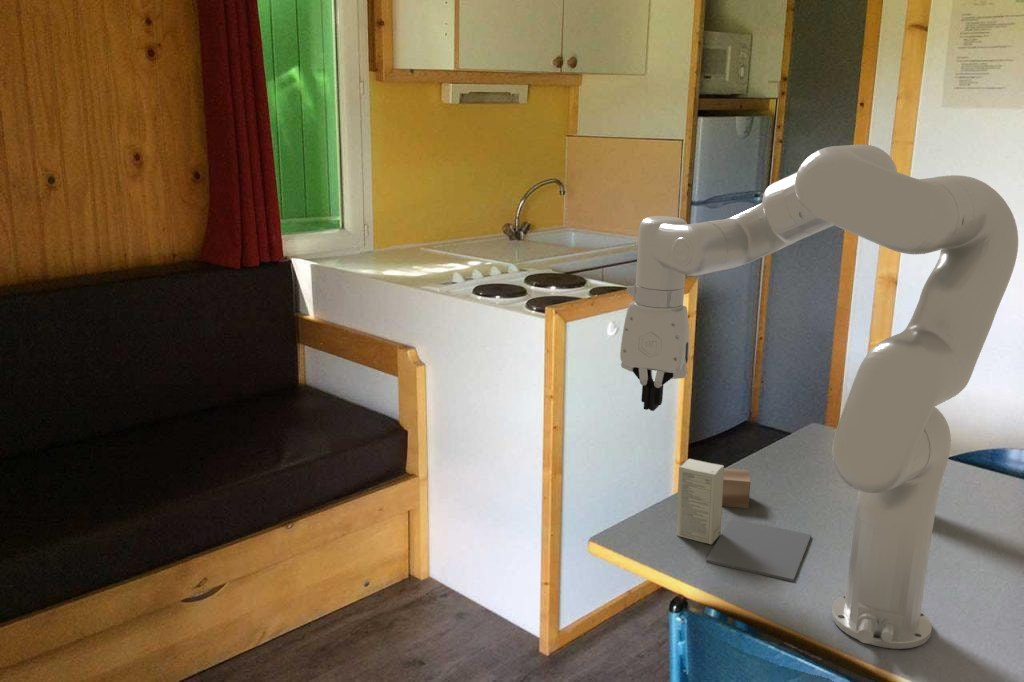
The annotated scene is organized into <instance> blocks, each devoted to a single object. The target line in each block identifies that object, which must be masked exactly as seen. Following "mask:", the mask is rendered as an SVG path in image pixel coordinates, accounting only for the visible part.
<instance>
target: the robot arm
mask: <svg viewBox="0 0 1024 682" xmlns="http://www.w3.org/2000/svg"><path fill="white" fill-rule="evenodd" d="M895 163H896V162H895V161H894V160H893V158H892V157H891V156H890V155H889V153H887V152H886V151H885V150H883V149H881V148H879V147H877V146H874V145H871V144H862V143H861V144H848V145H845V144H844V145H831V146H826V147H824V148H821V149H818V150H816V151H815V152H813V153H811V154H810V155H809V156H807V158H806V159H804V160H803V162H802V163H801V164H800V166H799V168H798V170H797V171H796V172H794V173H792V174H790V175H788V176H786V177H783V178H781V179H779V180H776V181H775V182H773V183H771V184H770V185H768V186H767V187H766V189H765V190H764V192H763V195H762V200H761V201H762V202H761V203H759V204H757V205H755V206H753V207H751V208H748V209H747V210H744V211H742V212H740V213H738V214H736V215H733V216H731V217H727V218H724V219H716V220H715V219H714V220H708V221H702V222H696V223H688V222H687V221H686V220H685V219H683V218H681V217H677V216H667V215H654V216H648V217H645V218H644V219H642V220H641V222H640V224H639V228H638V241H637V257H636V274H635V283H634V284H633V285H627V287H626V294H627V295H631V296H632V297H633V301H632V302H629V303H628V306H627V310H626V314H625V318H624V323H623V330H622V335H621V342H620V352H619V353H620V354H619V355H620V358H619V359H620V362H621V363H620V365H621V368H622V369H624V370H627V371H628V372H632V373H633V374H634V375H635V376H636V378H637V379H638V380H639V384H640V385H642V386H641V387H642V389H641V398H640V399H641V402H642V403H643V410H646V411H647V410H649V411H651V412H654V411H655V410H657V408H659V406H661V405H662V403H663V396H664V395H663V394H664V385H665V384H666V383H667V382H669V381H670V380H673V379H685V378H686V377H687V376H688V374H689V372H688V366H687V365H688V362H689V355H690V324H689V313H688V307H687V306H686V305H684V300H685V299H684V298H685V281H686V276H693V277H694V276H695V277H696V276H701V275H706V274H712V273H714V272H720V271H724V270H730V269H734V268H738V267H741V266H744V265H746V264H748V263H752V262H754V261H756V260H759V259H761V258H763V257H766V256H769V255H772V254H773V253H776V252H778V251H780V250H782V249H784V248H786V247H788V246H791V245H793V244H795V243H796V242H798V241H801V240H803V239H805V238H808V237H810V236H813V235H815V234H818V233H819V232H822V231H824V230H827V229H829V228H832V227H835V226H836V227H838V228H839V229H842V230H844V231H846V232H849V233H851V234H853V235H856V236H857V237H860V238H862V239H864V240H865V239H866V240H867V241H870V242H872V243H874V244H877V245H879V246H881V247H884V248H887V249H889V250H891V251H893V252H896V253H901V254H904V255H905V254H906V255H907V254H908V255H926V254H930V253H933V252H937V251H940V253H939V257H938V260H937V261H936V264H935V266H934V268H933V269H932V270H931V272H930V274H929V275H928V277H927V279H926V281H925V283H924V285H923V287H922V289H921V292H920V296H919V298H918V301H917V304H916V307H915V309H914V310H913V311H914V312H913V314H912V316H911V319H910V321H909V323H908V324H907V326H906V328H905V329H904V330H903V331H901V332H900V333H896V334H894V335H891V336H889V337H887V338H885V339H883V340H882V341H880V342H878V343H877V344H876V345H874V346H873V347H872V348H871V349H870V350H869V352H868V353H867V354H866V356H865V357H864V358H863V359H862V362H861V363H860V365H859V367H858V370H857V372H856V374H855V377H854V379H853V382H852V385H851V387H850V390H849V393H848V396H847V399H846V402H845V404H844V407H843V410H842V412H841V415H840V417H839V421H838V424H837V425H836V429H835V433H834V436H833V441H832V446H831V447H832V449H831V452H832V454H831V455H832V459H833V465H834V467H835V469H836V472H837V473H838V475H839V476H840V478H841V479H842V480H843V481H844V482H845V483H846V485H848V486H849V487H851V488H852V489H854V490H856V491H858V493H857V497H856V505H855V513H854V520H853V521H854V522H853V528H852V529H853V530H852V538H851V544H850V546H851V547H850V555H849V562H848V563H849V564H848V570H847V571H848V572H847V581H846V590H845V593H844V594H843V595H841V596H839V597H837V598H836V599H834V601H833V602H832V605H831V613H830V614H831V618H832V620H833V622H834V624H835V625H837V627H838V628H839V629H840V630H841V631H843V632H844V633H845V634H847V635H848V636H850V637H852V638H854V639H856V640H857V641H859V642H861V643H863V644H867V645H872V646H874V647H879V648H886V649H892V650H893V649H894V650H895V649H896V650H903V649H904V650H905V649H912V648H916V647H920V646H921V645H924V644H925V643H927V642H928V640H929V639H930V638H931V635H932V629H933V626H932V622H931V620H930V618H929V617H928V616H927V615H926V614H925V613H924V611H922V607H923V601H924V600H923V599H924V593H925V585H926V578H927V571H928V565H929V564H928V563H929V558H930V549H931V543H932V537H933V528H934V523H935V519H936V518H935V517H936V509H937V506H938V505H937V504H938V500H939V499H938V498H939V493H940V489H941V485H942V481H943V479H944V474H945V472H946V468H947V465H948V461H949V458H950V453H951V447H952V446H951V445H952V443H951V442H952V436H951V435H952V434H951V429H950V427H949V423H948V420H946V417H945V416H944V415H943V413H942V412H941V411H940V410H939V409H938V408H937V406H939V405H941V404H942V403H945V402H946V401H948V400H951V399H952V398H954V397H956V396H957V395H959V394H960V393H961V392H962V391H963V390H964V389H965V388H966V387H967V386H968V384H969V382H970V380H971V377H972V375H973V372H974V371H975V367H976V365H977V362H978V359H979V357H980V354H981V352H982V350H983V347H984V345H985V342H986V340H987V338H988V335H989V333H990V330H991V329H992V328H991V327H992V326H993V323H994V319H995V317H996V314H997V311H998V310H999V306H1000V304H1001V302H1002V300H1003V298H1004V294H1005V292H1006V290H1007V287H1008V286H1009V282H1010V280H1011V278H1012V275H1013V273H1014V269H1015V266H1016V262H1017V258H1018V257H1017V256H1018V251H1019V231H1018V226H1017V222H1016V219H1015V216H1014V214H1013V212H1012V209H1011V208H1010V206H1009V205H1008V203H1007V202H1006V200H1005V199H1004V198H1003V196H1001V195H1000V193H999V192H998V191H997V190H995V189H994V187H992V186H990V185H989V184H988V183H986V182H984V181H982V180H980V179H977V178H974V177H971V176H967V175H957V174H955V175H953V174H952V175H942V176H934V177H929V178H920V179H919V178H916V177H913V176H909V175H906V174H903V173H901V172H898V169H897V166H896V164H895ZM653 371H656V374H655V378H654V379H653Z"/></svg>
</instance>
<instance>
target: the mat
mask: <svg viewBox="0 0 1024 682" xmlns="http://www.w3.org/2000/svg"><path fill="white" fill-rule="evenodd" d="M729 519H730V520H729V521H728V522H727V524H726V526H725V528H724V529H723V531H722V532H721V534H720V536H719V537H718V538H717V540H716V543H715V544H714V545H713V547H712V549H711V551H710V552H709V554H708V556H707V558H706V559H705V562H706V563H709V564H714V565H717V566H724V567H727V568H732V569H735V568H736V570H740V571H744V572H748V571H749V572H748V573H753V574H758V575H761V574H762V575H763V576H766V577H770V576H771V578H775V579H780V580H784V581H788V582H793V583H794V581H795V579H796V577H797V573H798V571H799V568H800V566H801V563H802V560H803V558H804V556H805V553H806V550H807V548H808V546H809V543H810V540H811V538H812V534H810V533H806V532H805V533H804V532H802V531H801V532H799V531H795V530H790V529H785V528H780V527H777V526H770V525H766V524H761V523H757V522H752V521H747V520H741V519H737V518H729Z"/></svg>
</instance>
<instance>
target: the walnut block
mask: <svg viewBox="0 0 1024 682" xmlns="http://www.w3.org/2000/svg"><path fill="white" fill-rule="evenodd" d="M750 492H751V474H750V470H746V469H735V468H724V476H723V497H722V507H732V508H743V509H749V504H750Z"/></svg>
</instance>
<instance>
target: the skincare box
mask: <svg viewBox="0 0 1024 682" xmlns="http://www.w3.org/2000/svg"><path fill="white" fill-rule="evenodd" d="M724 469H725V466H724V465H723V464H719V463H712V462H707V461H703V460H698V459H694V458H688V459H686V460H685V461H684V462H683V463H682V464H680V465H679V466H678V484H677V485H678V487H677V488H678V489H677V490H678V491H677V513H676V515H677V520H676V536H678V537H682V538H684V539H688V540H693V541H696V542H699V543H704V544H709V545H712V544H714V543H715V541H717V540H718V539H719V537H720V536H721V534H722V532H721V531H722V513H723V512H722V511H723V506H722V497H723V476H724Z"/></svg>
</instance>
